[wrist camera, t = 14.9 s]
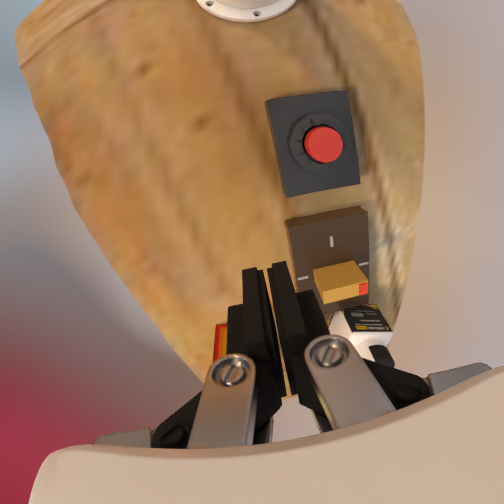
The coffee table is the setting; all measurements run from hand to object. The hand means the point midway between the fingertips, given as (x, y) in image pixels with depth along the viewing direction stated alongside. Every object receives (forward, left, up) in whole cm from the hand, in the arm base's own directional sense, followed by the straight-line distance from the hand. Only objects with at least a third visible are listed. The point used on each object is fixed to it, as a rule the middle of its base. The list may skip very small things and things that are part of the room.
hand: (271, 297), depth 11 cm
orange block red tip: (+13, +8, -21) cm, 26 cm away
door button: (-3, +8, -20) cm, 21 cm away
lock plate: (+13, +8, -23) cm, 28 cm away
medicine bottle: (+25, +11, -23) cm, 36 cm away
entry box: (-3, +8, -23) cm, 25 cm away
